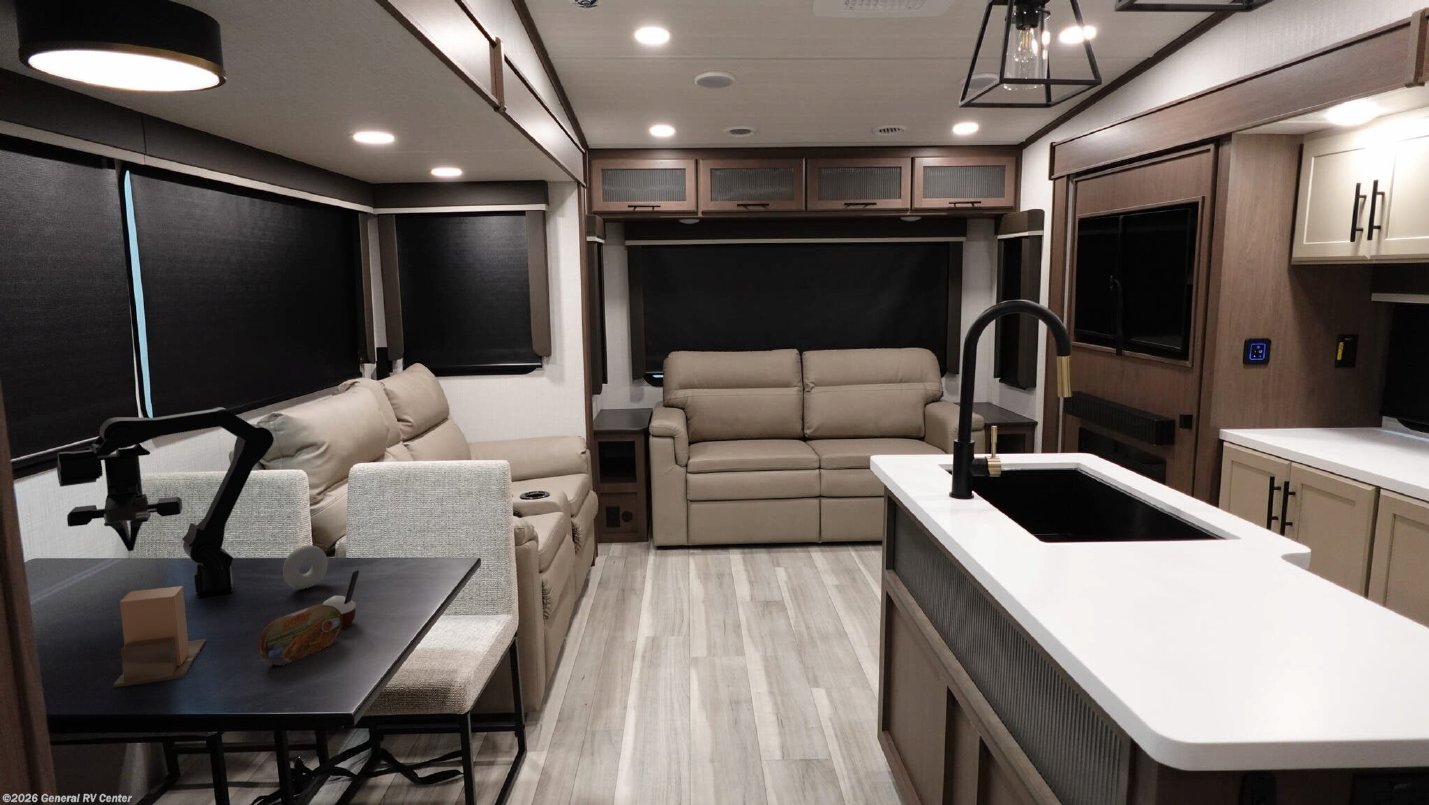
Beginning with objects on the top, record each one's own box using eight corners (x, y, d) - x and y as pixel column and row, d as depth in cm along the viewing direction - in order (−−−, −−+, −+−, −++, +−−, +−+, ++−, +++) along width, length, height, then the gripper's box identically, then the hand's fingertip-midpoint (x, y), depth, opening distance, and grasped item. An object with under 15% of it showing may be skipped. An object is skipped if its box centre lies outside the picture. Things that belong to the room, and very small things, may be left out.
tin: (266, 673, 138) (263, 628, 136) (257, 668, 139) (253, 624, 138) (345, 641, 150) (342, 600, 149) (335, 637, 152) (333, 596, 151)
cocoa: (314, 627, 157) (307, 571, 155) (344, 616, 162) (337, 561, 160) (338, 638, 151) (331, 579, 150) (369, 626, 156) (362, 569, 155)
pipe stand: (144, 649, 146) (141, 616, 145) (206, 641, 149) (203, 609, 148) (114, 687, 132) (110, 651, 131) (182, 678, 135) (179, 642, 134)
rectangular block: (137, 659, 140) (130, 591, 138) (189, 653, 143) (182, 586, 141) (127, 672, 135) (119, 602, 133) (180, 665, 138) (174, 596, 136)
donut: (289, 596, 172) (286, 553, 170) (281, 593, 173) (277, 550, 172) (332, 583, 180) (329, 541, 178) (323, 580, 182) (321, 539, 180)
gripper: (56, 492, 149) (65, 570, 151) (173, 481, 158) (180, 554, 160) (69, 480, 158) (77, 553, 161) (179, 470, 168) (185, 539, 170)
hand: (131, 550), depth 163 cm, fingers closed
